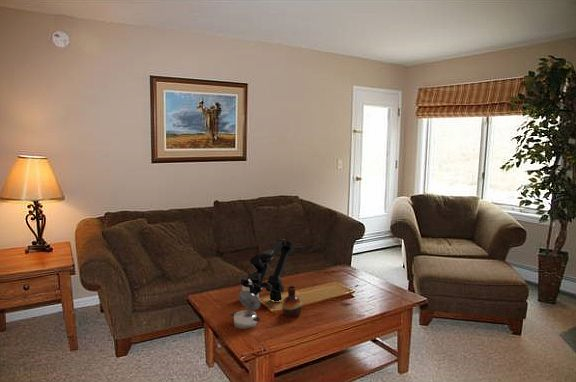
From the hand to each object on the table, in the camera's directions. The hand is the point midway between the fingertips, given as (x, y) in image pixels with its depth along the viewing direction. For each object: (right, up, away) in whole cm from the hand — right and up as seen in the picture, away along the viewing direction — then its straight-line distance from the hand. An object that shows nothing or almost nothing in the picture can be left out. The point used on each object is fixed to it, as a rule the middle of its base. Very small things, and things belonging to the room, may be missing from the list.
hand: (250, 299), depth 213 cm
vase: (+23, -10, +6) cm, 26 cm away
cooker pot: (-2, -12, -3) cm, 13 cm away
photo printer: (-2, -8, +28) cm, 30 cm away
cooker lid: (-1, -1, -1) cm, 2 cm away
